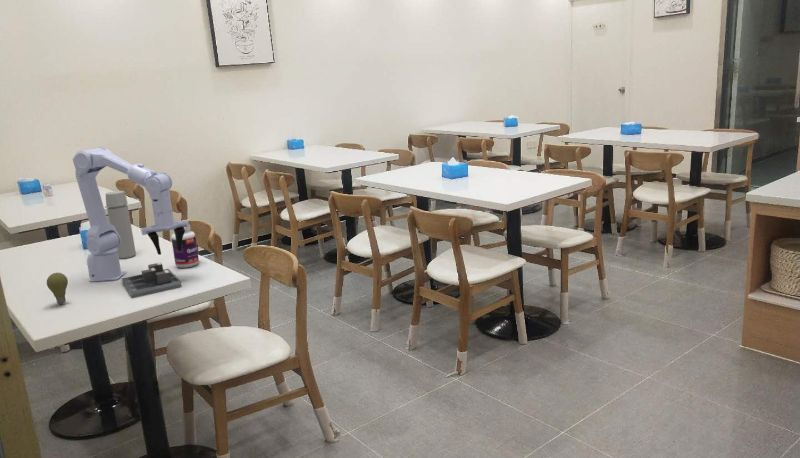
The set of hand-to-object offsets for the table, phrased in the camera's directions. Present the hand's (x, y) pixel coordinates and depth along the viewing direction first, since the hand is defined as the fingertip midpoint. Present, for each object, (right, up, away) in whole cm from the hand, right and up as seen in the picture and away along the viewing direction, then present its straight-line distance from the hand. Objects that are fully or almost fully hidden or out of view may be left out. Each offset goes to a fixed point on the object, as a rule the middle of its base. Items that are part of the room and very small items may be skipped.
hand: (169, 252), depth 199 cm
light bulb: (-28, -16, -14) cm, 34 cm away
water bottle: (-30, -3, +35) cm, 46 cm away
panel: (-5, -11, -1) cm, 12 cm away
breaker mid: (-5, -10, -1) cm, 11 cm away
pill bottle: (0, -6, +18) cm, 19 cm away
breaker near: (0, -10, -4) cm, 11 cm away
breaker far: (-6, -8, +5) cm, 11 cm away
